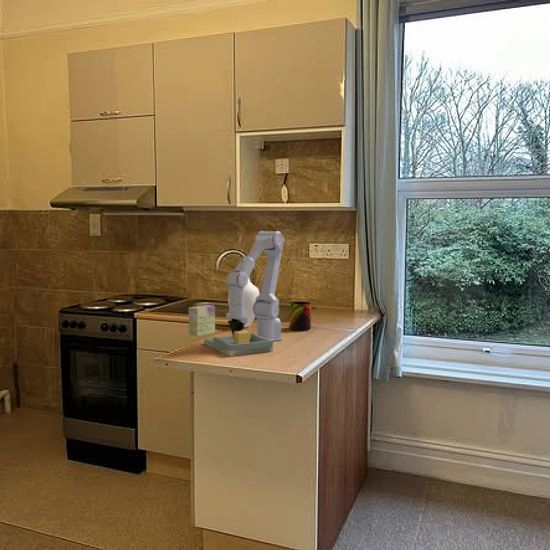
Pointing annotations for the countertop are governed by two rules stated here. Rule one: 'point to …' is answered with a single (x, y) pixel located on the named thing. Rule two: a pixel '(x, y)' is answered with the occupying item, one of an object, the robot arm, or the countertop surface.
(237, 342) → the ochre block
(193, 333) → the box
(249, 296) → the vase
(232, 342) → the trap tray
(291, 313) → the mug
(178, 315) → the countertop surface
